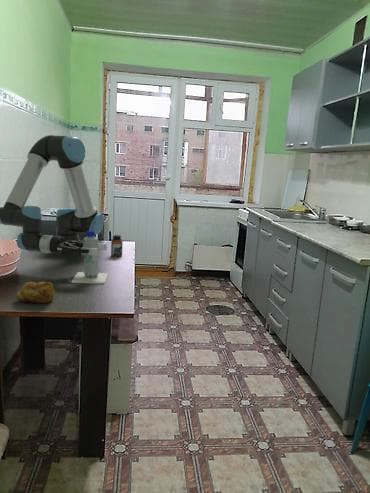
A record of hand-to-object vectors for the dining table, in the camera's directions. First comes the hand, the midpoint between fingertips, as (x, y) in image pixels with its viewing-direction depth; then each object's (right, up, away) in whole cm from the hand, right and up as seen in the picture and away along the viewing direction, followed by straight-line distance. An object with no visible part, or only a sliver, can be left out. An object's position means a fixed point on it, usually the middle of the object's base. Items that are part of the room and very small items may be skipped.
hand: (101, 249), depth 164 cm
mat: (-6, -12, +2) cm, 14 cm away
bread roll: (-17, -18, -27) cm, 37 cm away
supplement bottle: (-2, -4, +45) cm, 45 cm away
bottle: (-5, -12, +3) cm, 13 cm away
